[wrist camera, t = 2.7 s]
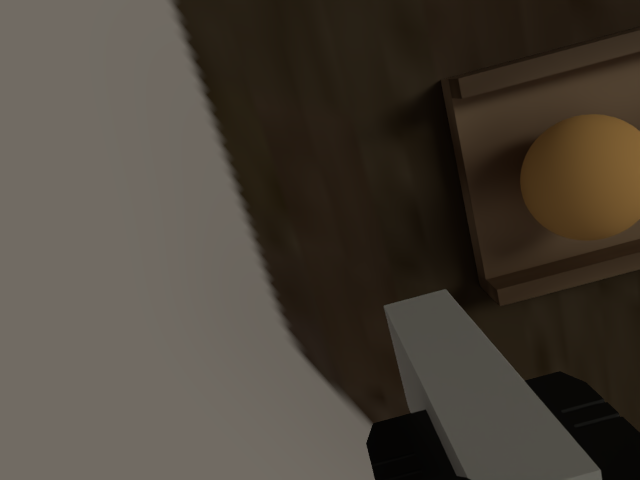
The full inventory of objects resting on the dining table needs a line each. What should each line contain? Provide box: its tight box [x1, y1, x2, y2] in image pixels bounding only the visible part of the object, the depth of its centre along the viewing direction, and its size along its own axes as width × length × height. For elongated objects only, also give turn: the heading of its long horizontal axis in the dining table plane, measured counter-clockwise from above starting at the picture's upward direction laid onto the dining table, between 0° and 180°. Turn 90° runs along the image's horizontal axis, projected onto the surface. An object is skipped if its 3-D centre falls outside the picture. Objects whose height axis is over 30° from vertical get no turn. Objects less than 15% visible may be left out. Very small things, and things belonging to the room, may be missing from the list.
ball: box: [520, 114, 640, 241], centre depth 22 cm, size 5×5×5 cm
